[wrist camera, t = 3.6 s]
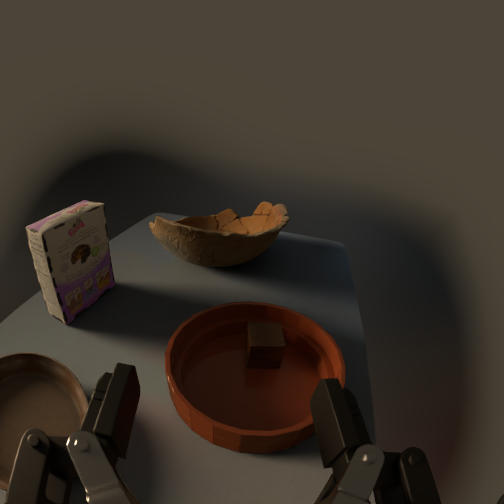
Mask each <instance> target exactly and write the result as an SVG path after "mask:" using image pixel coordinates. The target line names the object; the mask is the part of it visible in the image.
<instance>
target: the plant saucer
mask: <svg viewBox="0 0 504 504" xmlns="http://www.w3.org/2000/svg"><path fill="white" fill-rule="evenodd" d="M88 405H89V403H88V400H87V396H86V394H85V392H84V389H83V387H82V385H81V384H80V382H79V381H78V379H77V378H76V377H75V375H74V374H73V373H72V372H71V371H70V370H69V369H68V368H67V367H66V366H65V365H63V364H62V363H60V362H59V361H57V360H55V359H53V358H50V357H48V356H45V355H42V354H38V353H24V352H23V353H14V354H10V355H6V356H3V357H1V358H0V488H1V489H3V490H5V491H7V489H8V485H9V481H10V476H11V472H12V469H13V465H14V461H15V458H16V455H17V451H18V448H19V445H20V442H21V439H22V436H23V434H24V433H25V432H26V431H27V430H28V429H31V428H37V429H40V430H42V431H44V432H45V433H46V435H47V436H70V435H72V434H73V433H75V432H77V431H78V430H79V428H80V427H81V424H82V421H83V418H84V416H85V413H86V410H87V407H88Z"/></svg>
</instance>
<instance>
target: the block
mask: <svg viewBox="0 0 504 504" xmlns="http://www.w3.org/2000/svg"><path fill="white" fill-rule="evenodd" d="M285 348H286V344H285V340H284V335H283V331H282V327H281V323H249V322H248V326H247V334H246V342H245V350H246V363H247V369H277V368H280V367H281V363H282V359H283V356H284V352H285Z"/></svg>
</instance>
